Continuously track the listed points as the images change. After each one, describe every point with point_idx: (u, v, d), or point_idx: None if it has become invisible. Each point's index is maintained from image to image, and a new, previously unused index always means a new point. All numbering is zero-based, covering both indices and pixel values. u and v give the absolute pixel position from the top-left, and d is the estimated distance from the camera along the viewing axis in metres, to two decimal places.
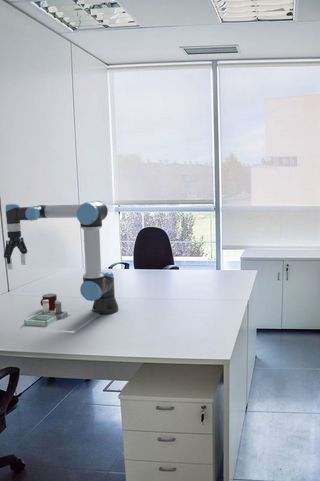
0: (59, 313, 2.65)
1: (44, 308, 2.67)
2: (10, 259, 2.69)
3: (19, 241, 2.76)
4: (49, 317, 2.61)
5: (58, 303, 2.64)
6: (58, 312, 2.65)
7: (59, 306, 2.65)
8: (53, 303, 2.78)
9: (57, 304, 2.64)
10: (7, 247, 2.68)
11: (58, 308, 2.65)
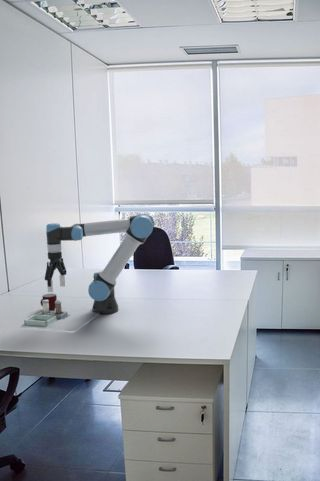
0: (59, 313, 2.65)
1: (44, 308, 2.67)
2: (51, 282, 2.57)
3: (59, 262, 2.64)
4: (49, 317, 2.61)
5: (58, 303, 2.64)
6: (58, 312, 2.65)
7: (59, 306, 2.65)
8: (53, 303, 2.78)
9: (57, 304, 2.64)
10: (48, 269, 2.56)
11: (58, 308, 2.65)
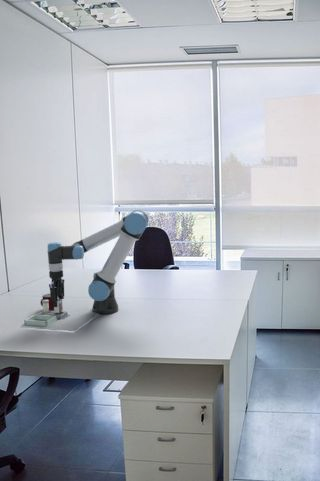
0: (59, 313, 2.65)
1: (44, 308, 2.67)
2: (57, 302, 2.63)
3: (61, 281, 2.65)
4: (49, 317, 2.61)
5: None
6: None
7: (59, 306, 2.65)
8: (53, 303, 2.78)
9: None
10: (52, 291, 2.59)
11: None
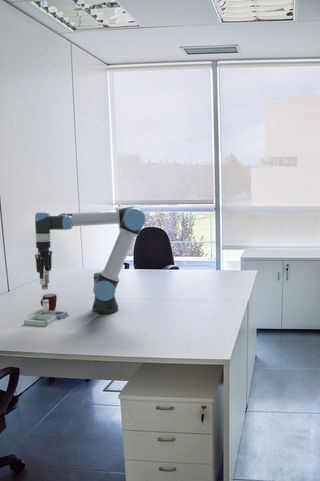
0: (45, 285, 2.58)
1: (44, 308, 2.67)
2: (43, 274, 2.56)
3: (48, 252, 2.58)
4: (49, 317, 2.61)
5: None
6: None
7: (45, 278, 2.58)
8: (53, 303, 2.78)
9: None
10: (38, 261, 2.52)
11: None
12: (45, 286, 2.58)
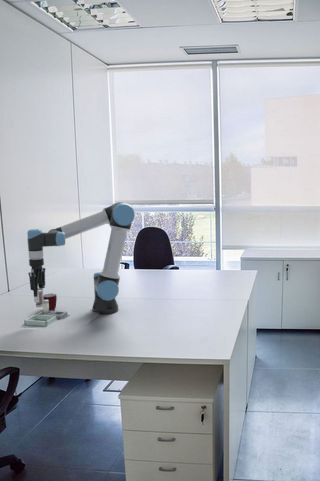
0: (39, 303, 2.55)
1: (44, 308, 2.67)
2: (37, 291, 2.53)
3: (41, 270, 2.55)
4: (49, 317, 2.61)
5: None
6: (38, 302, 2.55)
7: (39, 295, 2.55)
8: (53, 303, 2.78)
9: None
10: (31, 280, 2.49)
11: None
12: (39, 304, 2.55)
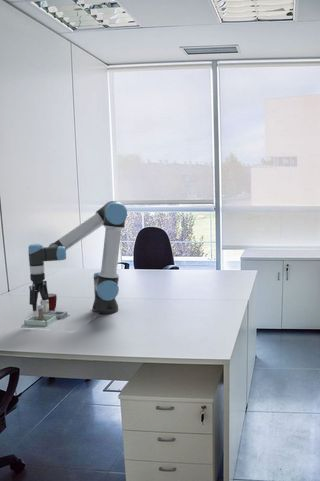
0: (41, 319, 2.56)
1: None
2: (36, 306, 2.52)
3: (42, 284, 2.56)
4: (49, 317, 2.61)
5: (39, 308, 2.55)
6: (40, 318, 2.56)
7: (41, 312, 2.56)
8: (53, 303, 2.78)
9: (38, 310, 2.55)
10: (31, 293, 2.49)
11: (40, 314, 2.56)
12: (41, 320, 2.56)
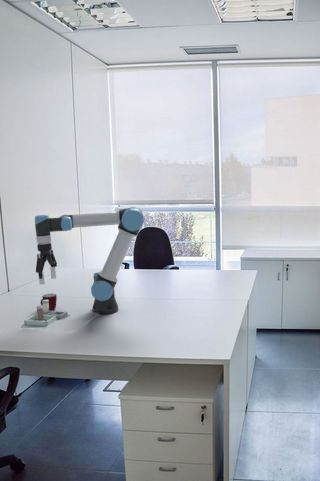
0: (41, 319, 2.56)
1: (44, 308, 2.67)
2: (42, 274, 2.54)
3: (49, 254, 2.61)
4: (49, 317, 2.61)
5: (40, 308, 2.55)
6: (40, 318, 2.56)
7: (41, 312, 2.56)
8: (53, 303, 2.78)
9: (39, 309, 2.56)
10: (39, 261, 2.52)
11: (40, 314, 2.56)
12: (41, 320, 2.57)
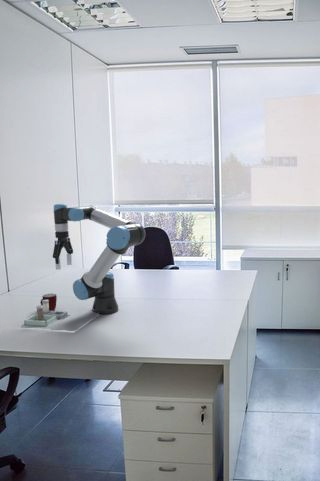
0: (41, 319, 2.56)
1: (44, 308, 2.67)
2: (59, 259, 2.68)
3: (66, 241, 2.75)
4: (49, 317, 2.61)
5: (40, 308, 2.56)
6: (40, 318, 2.56)
7: (41, 312, 2.56)
8: (53, 303, 2.78)
9: (39, 309, 2.56)
10: (56, 247, 2.67)
11: (40, 314, 2.56)
12: (41, 320, 2.57)
